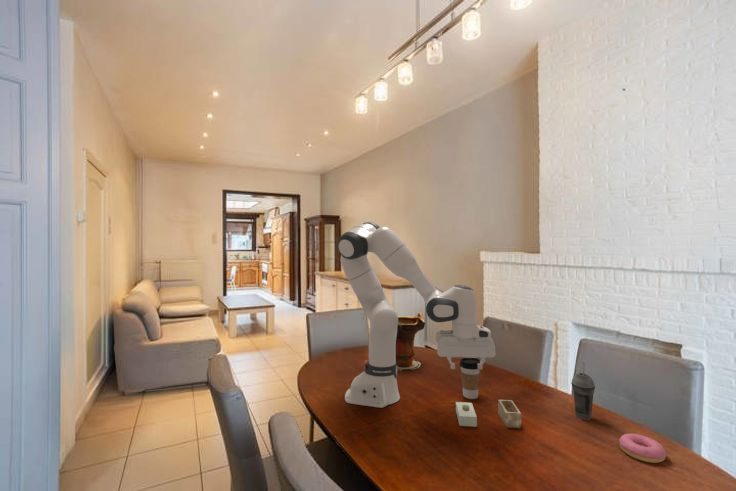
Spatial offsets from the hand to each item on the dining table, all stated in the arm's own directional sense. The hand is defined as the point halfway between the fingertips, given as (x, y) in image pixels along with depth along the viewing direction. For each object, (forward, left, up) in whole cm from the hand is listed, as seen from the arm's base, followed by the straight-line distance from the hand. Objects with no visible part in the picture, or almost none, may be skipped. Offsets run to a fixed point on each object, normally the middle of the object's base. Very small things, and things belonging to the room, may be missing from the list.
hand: (466, 368), depth 123 cm
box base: (+15, -1, -18) cm, 23 cm away
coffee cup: (+5, +18, -18) cm, 26 cm away
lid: (0, -1, -18) cm, 18 cm away
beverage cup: (+42, +4, -18) cm, 45 cm away
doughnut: (+48, -17, -18) cm, 54 cm away
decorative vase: (-23, +53, -18) cm, 61 cm away
